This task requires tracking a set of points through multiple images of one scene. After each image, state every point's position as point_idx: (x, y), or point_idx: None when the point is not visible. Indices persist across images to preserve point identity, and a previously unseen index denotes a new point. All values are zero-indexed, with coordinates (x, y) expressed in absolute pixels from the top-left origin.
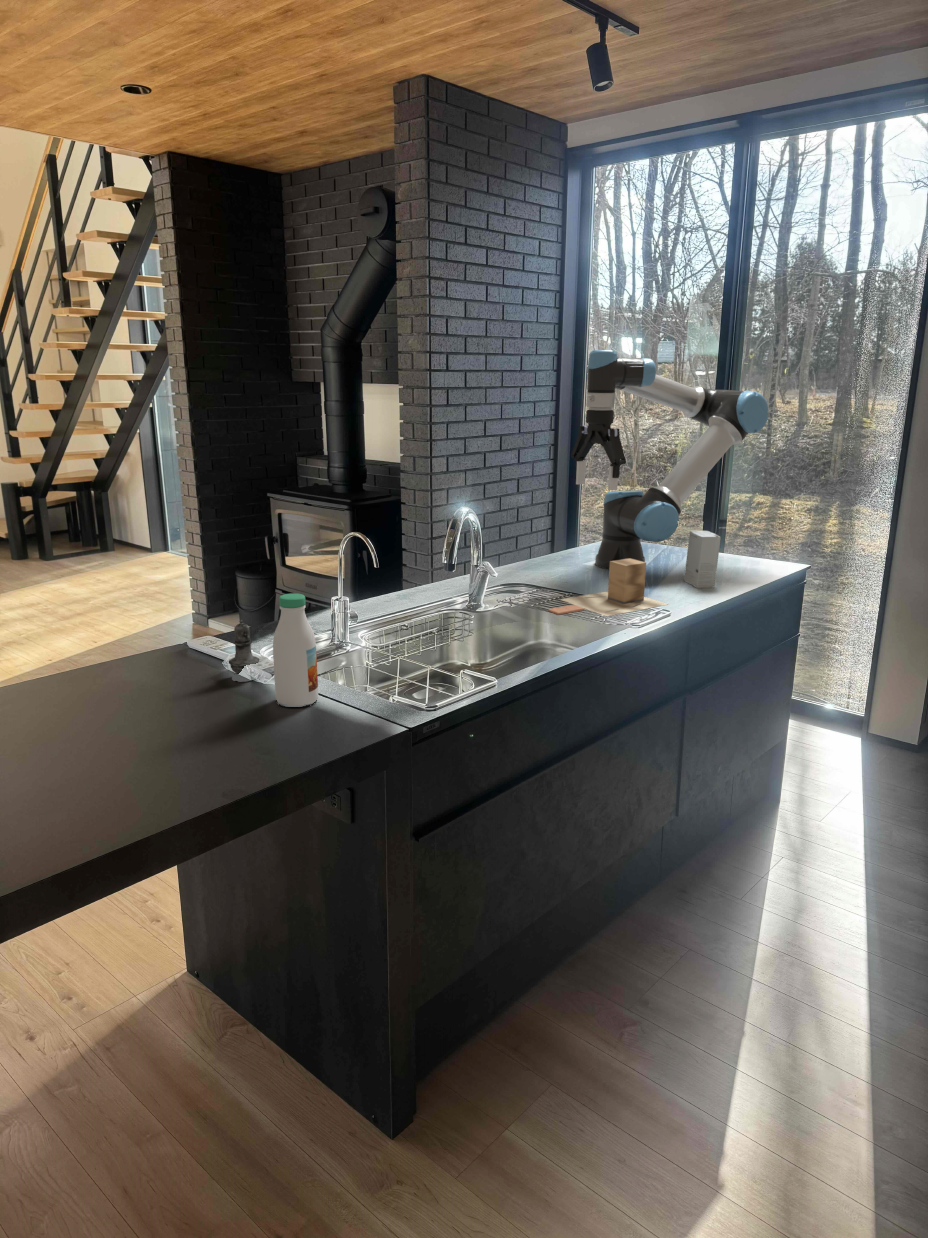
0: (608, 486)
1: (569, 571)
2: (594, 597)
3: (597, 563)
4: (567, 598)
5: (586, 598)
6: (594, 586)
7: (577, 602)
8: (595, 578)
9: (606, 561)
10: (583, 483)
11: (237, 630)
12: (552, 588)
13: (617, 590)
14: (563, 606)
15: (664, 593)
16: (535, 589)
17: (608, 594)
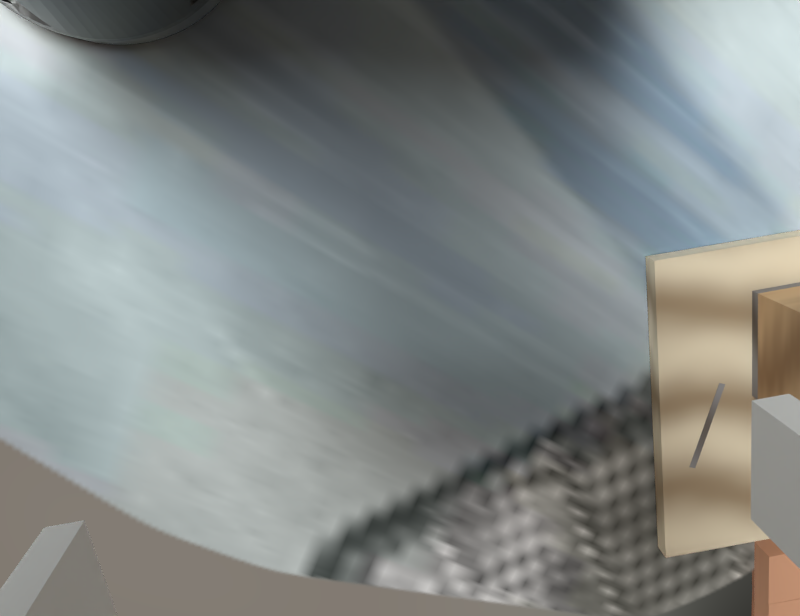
0: (787, 548)
1: (172, 257)
2: (708, 431)
3: (92, 41)
4: (667, 527)
5: (704, 465)
6: (491, 297)
7: (732, 520)
8: (356, 210)
9: (166, 26)
10: (92, 551)
11: None
12: (446, 475)
13: None
14: (769, 596)
15: (745, 57)
16: (433, 540)
17: None
